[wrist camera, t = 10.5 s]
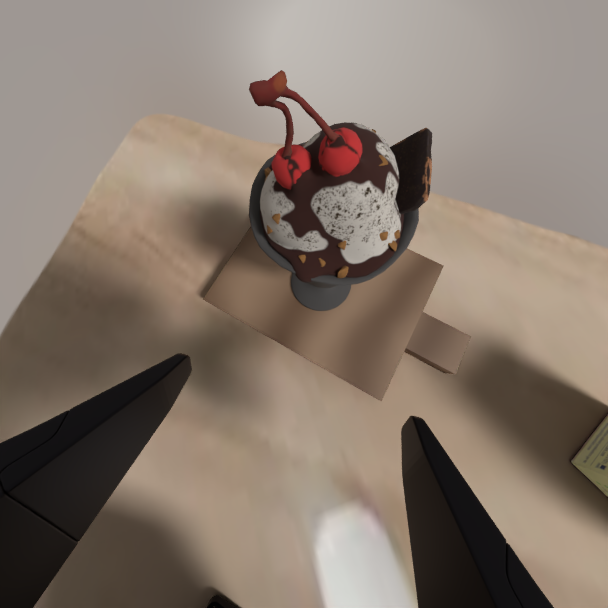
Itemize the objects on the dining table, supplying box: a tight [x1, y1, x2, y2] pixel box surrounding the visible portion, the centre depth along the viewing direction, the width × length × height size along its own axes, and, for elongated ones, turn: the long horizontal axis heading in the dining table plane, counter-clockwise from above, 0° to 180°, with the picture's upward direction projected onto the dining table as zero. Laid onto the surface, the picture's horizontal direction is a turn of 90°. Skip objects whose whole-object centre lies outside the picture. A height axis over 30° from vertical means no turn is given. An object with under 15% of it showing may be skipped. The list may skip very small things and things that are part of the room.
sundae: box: [249, 70, 432, 311], centre depth 11 cm, size 7×7×15 cm
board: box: [203, 227, 471, 401], centre depth 19 cm, size 20×12×2 cm, turn 61°
